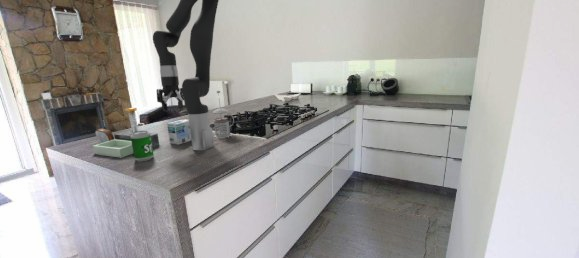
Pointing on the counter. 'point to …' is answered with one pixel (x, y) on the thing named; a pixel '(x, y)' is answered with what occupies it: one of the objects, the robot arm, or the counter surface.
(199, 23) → the robot arm
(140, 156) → the soda can
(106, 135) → the bread slice
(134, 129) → the gold capped white cylinder
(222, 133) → the french press
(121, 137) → the hitch bar
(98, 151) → the tray
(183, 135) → the light bulb box
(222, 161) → the counter surface
